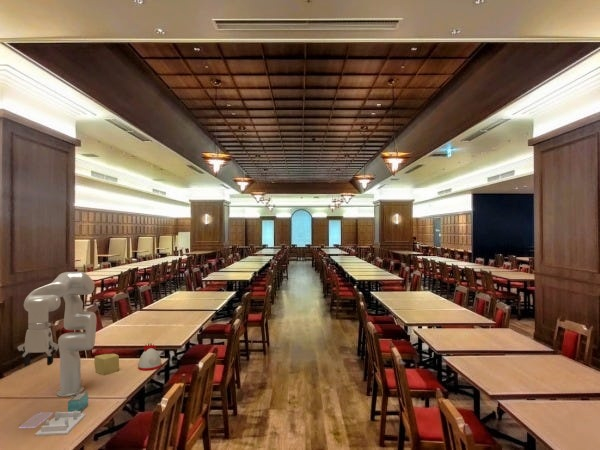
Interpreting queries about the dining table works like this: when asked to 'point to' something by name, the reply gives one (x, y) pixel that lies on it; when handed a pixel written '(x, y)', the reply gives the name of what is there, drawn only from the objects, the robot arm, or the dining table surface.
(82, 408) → the teal rectangular block
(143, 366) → the kitchen timer
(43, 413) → the mobile phone
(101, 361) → the cheese
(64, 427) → the tray
